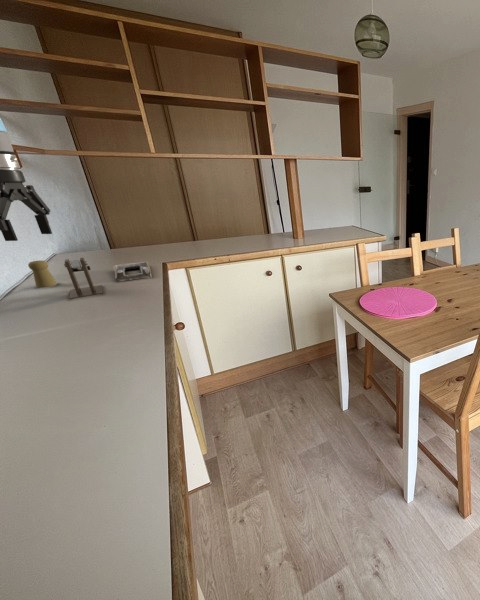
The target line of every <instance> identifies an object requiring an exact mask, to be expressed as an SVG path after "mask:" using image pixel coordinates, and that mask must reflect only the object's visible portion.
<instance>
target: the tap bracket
mask: <svg viewBox="0 0 480 600" xmlns="http://www.w3.org/2000/svg"><path fill="white" fill-rule="evenodd" d="M70 261H71V260H70V259H69V258H67V259H64V263H63V266H64V268H66V270H67V272H68V275H69V278H70V280H71V282H72V284H73V288H74V289H70V292H69V297H68V298H69V300H73V299H80V298H85V297H92V296H97V295H102V294H103V286H102V284H99V285H94V281H93V279H92V277H91V274H90V270H88V268H87V266H89V265H88V261H87V260H85V257H80V258H79V261H80V264H81V267H82V268H83V270H84V271H83V273H84V276H85V278H86V282H87V284H88V286H86V287H80V284H79V282H78V279H77V276H76V274H75V272H74V271H73V269H72V268H73V267H72V265H71V262H70Z"/></svg>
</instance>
